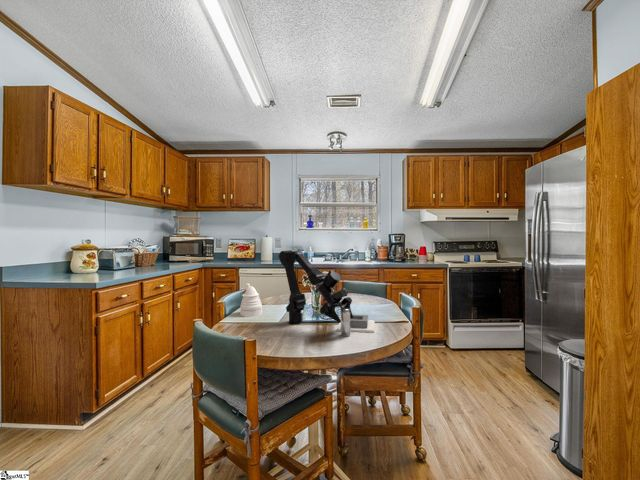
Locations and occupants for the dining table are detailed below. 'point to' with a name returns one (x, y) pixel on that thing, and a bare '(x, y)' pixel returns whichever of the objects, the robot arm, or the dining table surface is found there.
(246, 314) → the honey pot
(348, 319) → the grey cylindrical piece
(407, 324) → the dining table surface
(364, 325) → the mount
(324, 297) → the robot arm
